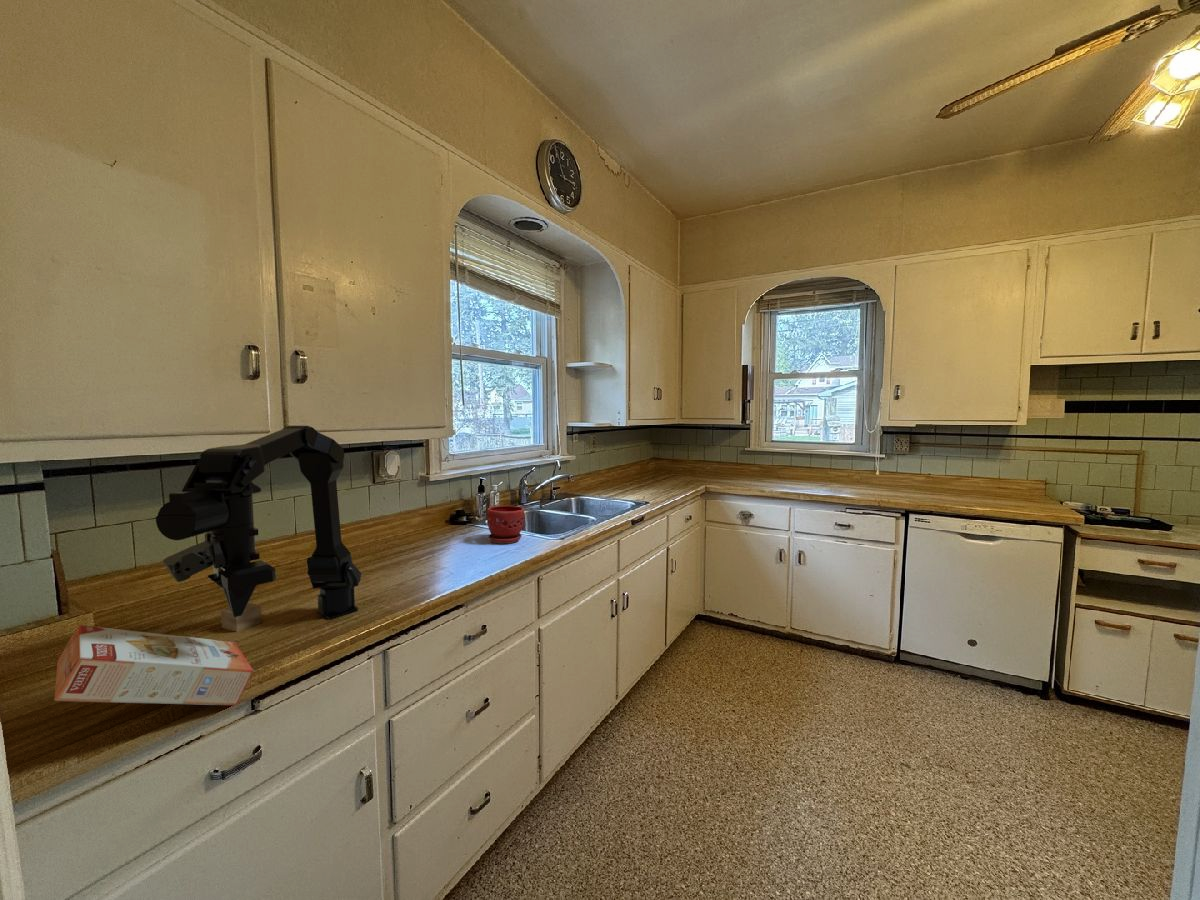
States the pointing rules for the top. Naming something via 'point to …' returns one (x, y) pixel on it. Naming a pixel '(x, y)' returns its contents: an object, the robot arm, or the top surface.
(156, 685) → the cracker box
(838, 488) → the top surface
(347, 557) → the robot arm
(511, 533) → the plant pot
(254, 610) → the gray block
